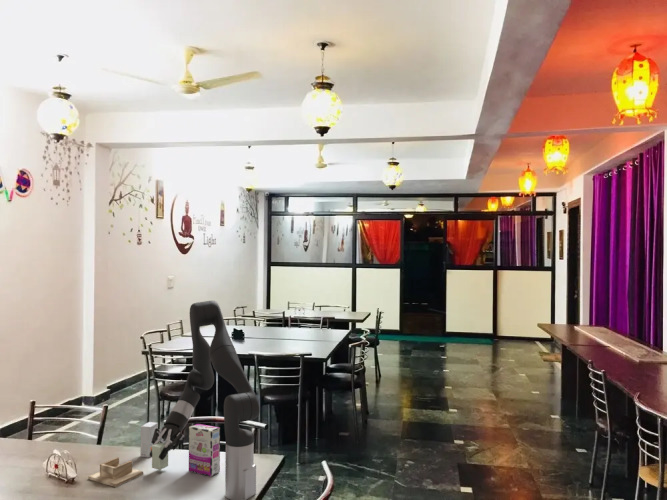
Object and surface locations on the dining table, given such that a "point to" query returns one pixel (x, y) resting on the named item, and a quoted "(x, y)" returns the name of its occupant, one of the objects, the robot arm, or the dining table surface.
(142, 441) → the skincare box
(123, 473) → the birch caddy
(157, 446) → the sage peg
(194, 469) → the candy bar box
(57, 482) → the dining table surface
